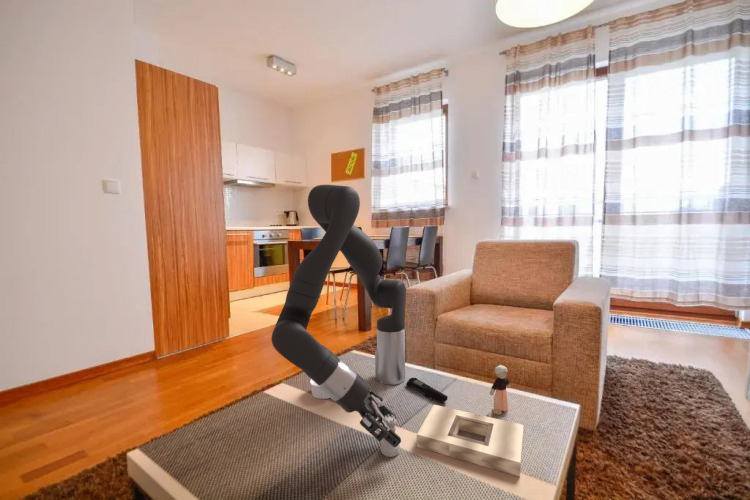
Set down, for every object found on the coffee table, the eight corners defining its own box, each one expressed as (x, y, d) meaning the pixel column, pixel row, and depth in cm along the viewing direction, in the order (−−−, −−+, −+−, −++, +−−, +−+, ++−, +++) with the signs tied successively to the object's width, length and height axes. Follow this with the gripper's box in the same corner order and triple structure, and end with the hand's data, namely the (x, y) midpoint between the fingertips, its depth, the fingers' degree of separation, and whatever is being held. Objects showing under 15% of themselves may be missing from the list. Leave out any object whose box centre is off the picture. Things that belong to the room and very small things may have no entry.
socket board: (416, 446, 78) (416, 434, 78) (434, 415, 90) (434, 404, 90) (520, 476, 68) (520, 462, 68) (523, 436, 81) (523, 424, 80)
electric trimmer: (441, 408, 95) (441, 397, 94) (405, 386, 107) (405, 377, 107) (450, 404, 97) (450, 393, 96) (413, 383, 109) (413, 373, 109)
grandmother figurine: (500, 418, 88) (501, 372, 87) (487, 412, 91) (487, 367, 90) (514, 407, 93) (515, 363, 92) (501, 402, 96) (502, 359, 95)
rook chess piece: (404, 450, 77) (403, 417, 76) (391, 461, 73) (390, 426, 73) (389, 442, 80) (388, 409, 79) (376, 451, 76) (375, 418, 76)
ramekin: (304, 397, 101) (304, 383, 101) (320, 384, 109) (319, 371, 109) (330, 403, 98) (329, 388, 97) (344, 389, 106) (344, 375, 106)
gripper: (355, 388, 67) (413, 439, 69) (355, 359, 82) (402, 402, 83) (330, 415, 67) (387, 465, 69) (334, 382, 82) (381, 424, 83)
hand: (395, 431), depth 76 cm, fingers open, 8 cm apart
